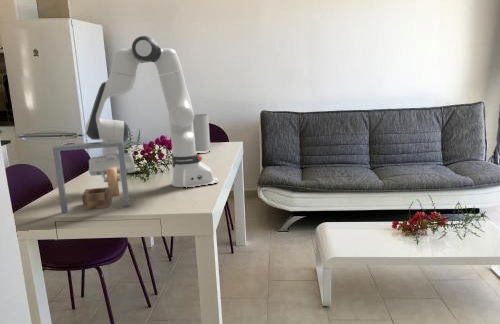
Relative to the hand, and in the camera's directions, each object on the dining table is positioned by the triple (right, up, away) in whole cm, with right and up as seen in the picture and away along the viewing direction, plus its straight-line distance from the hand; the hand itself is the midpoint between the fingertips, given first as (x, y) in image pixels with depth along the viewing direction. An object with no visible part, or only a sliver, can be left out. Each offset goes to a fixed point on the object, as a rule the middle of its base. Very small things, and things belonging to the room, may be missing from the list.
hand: (112, 180), depth 194 cm
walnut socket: (-2, -9, -13) cm, 17 cm away
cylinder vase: (+29, +15, +97) cm, 102 cm away
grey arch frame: (-1, -10, -17) cm, 20 cm away
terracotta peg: (0, -6, +2) cm, 6 cm away
